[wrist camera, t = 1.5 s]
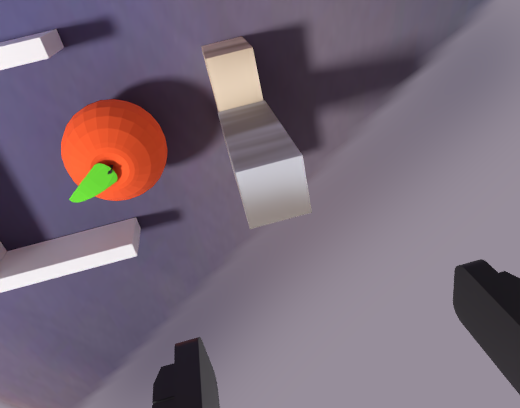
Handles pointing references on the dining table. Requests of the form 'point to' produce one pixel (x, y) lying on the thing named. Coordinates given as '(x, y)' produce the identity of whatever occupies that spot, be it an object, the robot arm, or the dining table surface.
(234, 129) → the silver bent metal strip
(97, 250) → the box
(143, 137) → the clementine
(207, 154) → the dining table surface
